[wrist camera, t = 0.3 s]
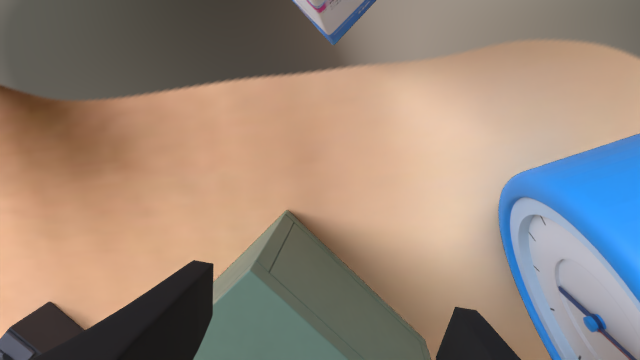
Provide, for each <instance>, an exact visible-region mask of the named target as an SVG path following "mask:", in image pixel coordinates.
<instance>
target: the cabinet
mask: <svg viewBox="0 0 640 360" xmlns="http://www.w3.org/2000/svg"><path fill="white" fill-rule="evenodd" d="M193 360H431V358H430V354H429V351H428V348H427V345H426V342H425V340H424V339H423V338H422V337H421V336H420V335H419V334H418V333H417V332H416V331H415V330H414V329H413V328H412V327H411V326H410V325H409V324H408V323H406V322H405V321H404V320H403V319H402V318H401V317H400V316H399V315H398V314H397V313H396V312H395V311H394V310H393V309H392V308H391V307H390V306H388V305H387V304H386V303H385V302H384V301H383V300H382V299H381V298H380V297H379V296H378V295H377V294H376V293H375V292H374V291H373V290H372V289H371V288H369V287H368V286H367V285H366V284H365V283H364V282H363V281H362V280H361V279H360V278H359V277H358V276H357V275H356V274H355V273H354V272H353V271H352V270H350V269H349V268H348V267H347V266H346V265H345V264H344V263H343V262H342V261H341V260H340V259H339V258H338V257H337V256H336V255H335V254H334V253H333V252H331V251H330V250H329V249H328V248H327V247H326V246H325V245H324V244H323V243H322V242H321V241H320V240H319V239H318V238H317V237H316V236H315V235H314V234H312V233H311V232H310V231H309V230H308V229H307V228H306V227H305V226H304V225H303V224H302V223H301V222H300V221H299V220H298V219H297V218H296V217H294V216H293V215H292V214H291V213H290V212H289V211H288V210H286V211H285V212H284V213H283V214H282V215H281V216H280V217H279V218H278V219H277V220H276V221H275V222H274V223H273V224H272V225H271V226H270V227H269V228H268V229H267V230H266V231H265V232H264V233H263V234H262V235H261V236H260V237H259V238H258V239H257V240H256V241H255V242H254V243H253V244H252V245H251V246H250V247H249V248H248V249H247V250H246V251H245V252H244V253H243V254H242V255H241V256H240V257H239V258H238V259H237V260H236V261H235V262H233V263H232V264H231V265H230V266H229V267H228V268H227V269H226V270H225V271H224V272H223V273H222V274H221V275H220V276H219V277H218V278H217V279H216V280H215V281H214V282H213V316H212V319H211V321H210V324H209V326H208V329H207V331H206V333H205V336H204V338H203V340H202V343H201V345H200V347H199V350H198V351H197V353H196V355H195V357H194V359H193Z"/></svg>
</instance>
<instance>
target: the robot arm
mask: <svg viewBox="0 0 640 360" xmlns="http://www.w3.org/2000/svg"><path fill="white" fill-rule="evenodd" d="M212 316H213V264H212V263H206V262H200V261H195V260H193V261H192V262H190V263H189V264H187V265H186V266H184V267H183V268H181V269H180V270H178V271H177V272H176V273H174V274H173V275H171V276H170V277H168V278H167V279H165V280H164V281H162V282H161V283H160V284H158V285H157V286H155V287H154V288H152V289H151V290H149V291H148V292H146V293H145V294H143V295H142V296H140V297H139V298H137V299H136V300H134V301H133V302H131V303H129V304H128V305H126V306H125V307H123V308H122V309H120V310H118V311H117V312H115V313H113V314H112V315H110V316H109V317H107V318H105V319H104V320H102V321H100V322H99V323H97V324H95V325H94V326H92V327H90V328H89V329H87V330H85V331H84V332H82V333H80V334H78V335H77V336H75V337H73V338H71V339H69V340H67V341H66V342H64V343H62V344H60V345H58V346H56V347H54V348H52V349H50V350H48V351H47V352H45V353H43V354H41V355H39V356H37V357H35V358H33V359H31V360H193V359H194V357H195V355H196V353H197V351H198V350H199V347H200V345H201V343H202V340H203V338H204V336H205V333H206V331H207V329H208V326H209V324H210V321H211V319H212ZM436 360H521V359H520V358H519V357H518V356H517V355H516V354H515V352H514V351H513V350H512V349H511V348H510V347H509V346H508V345H507V343H506V342H505V341H504V340H503V339H502V338H501V337H500V336H499V334H498V333H497V332H496V331H495V330H494V329H493V328H492V327H491V326H490V324H489V323H488V322H487V321H486V320H485V319H484V318H483V317H482V316H481V315H480V314H479V313H478V312H477V311H476V310H471V309H465V308H459V307H455V309H454V311H453V314H452V317H451V319H450V322H449V324H448V327H447V330H446V332H445V335H444V337H443V340H442V343H441V345H440V348H439V350H438V353H437V356H436Z"/></svg>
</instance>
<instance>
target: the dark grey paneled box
mask: <svg viewBox="0 0 640 360" xmlns="http://www.w3.org/2000/svg"><path fill="white" fill-rule="evenodd" d="M82 332H84V330H83V329H82V328H81V327H80V326H78V325H77V324H76V323H75V322H74V321H72V320H71V319H70V318H69V317H68V316H66V315H65V314H64V313H63V312H62V311H60V310H59V309H58V308H57V307H56V306H54V305H53V304H52V303H51V302H48V303H46V304H45V305H43V306H42V307H40V308H39V309H37V310H36V311H34V312H33V313H31V314H29V315H28V316H26V317H25V318H23V319H22V320H20V321H19V322H17V323H16V324H14V325H13V326H11V327H10V328H9V329H8V330H7V331H6V333H5V334H4V335H3V336H2V338H1V339H0V360H31V359H33V358H35V357H37V356H39V355H41V354H43V353H45V352H47V351H48V350H50V349H52V348H54V347H56V346H58V345H60V344H62V343H64V342H66V341H67V340H69V339H71V338H73V337H75V336H77V335H78V334H80V333H82Z"/></svg>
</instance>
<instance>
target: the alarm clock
mask: <svg viewBox="0 0 640 360" xmlns="http://www.w3.org/2000/svg"><path fill="white" fill-rule="evenodd" d="M498 211H499V226H500V233H501V238H502V242H503V246H504V250H505V254H506V257H507V260H508V263H509V266H510V269H511V272H512V275H513V278H514V280H515V283H516V286H517V288H518V291H519V293H520V295H521V298H522V300H523V302H524V305H525V307H526V309H527V311H528V313H529V316H530V318H531V320H532V322H533V324H534V326H535V328H536V330H537V332H538V334H539V336H540V338H541V340H542V342H543V344H544V346H545V347H546V349H547V351H548V353H549V355H550V357H551V358H552V360H640V134H637V135H634V136H631V137H628V138H625V139H621V140H618V141H615V142H612V143H609V144H606V145H603V146H600V147H597V148H594V149H591V150H588V151H585V152H582V153H579V154H576V155H573V156H570V157H567V158H564V159H560V160H557V161H554V162H551V163H548V164H545V165H542V166H539V167H536V168H533V169H530V170H527V171H524V172H521V173H519V174H517V175H515V176H514V177H512V178H511V179H510V180H509V181H508V182H507V184H506V185H505V186H504V188H503V190H502V193H501V196H500V201H499V210H498Z"/></svg>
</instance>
